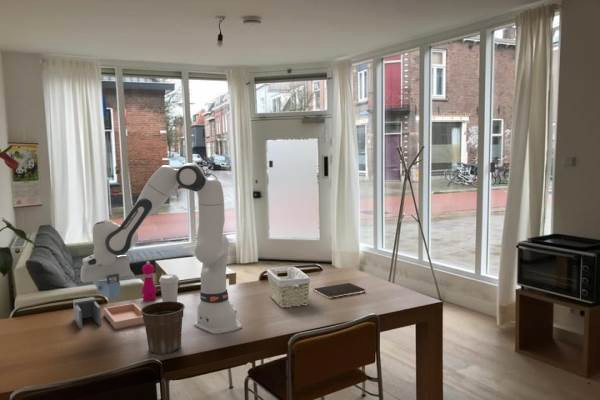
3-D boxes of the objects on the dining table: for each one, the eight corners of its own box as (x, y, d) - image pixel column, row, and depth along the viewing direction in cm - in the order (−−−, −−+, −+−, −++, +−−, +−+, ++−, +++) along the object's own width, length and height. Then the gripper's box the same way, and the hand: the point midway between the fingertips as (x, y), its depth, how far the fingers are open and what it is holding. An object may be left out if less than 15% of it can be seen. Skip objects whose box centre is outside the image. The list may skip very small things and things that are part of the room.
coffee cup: (168, 310, 231) (167, 279, 230) (155, 306, 237) (154, 276, 235) (183, 305, 239) (183, 275, 237) (171, 301, 245) (170, 272, 243)
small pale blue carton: (120, 295, 207) (119, 273, 206) (109, 298, 203) (107, 276, 202) (108, 290, 215) (106, 269, 214) (96, 293, 211) (95, 271, 210)
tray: (148, 323, 214) (147, 315, 214) (115, 329, 206) (115, 321, 206) (134, 309, 232) (134, 302, 232) (103, 315, 225) (103, 308, 224)
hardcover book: (365, 293, 258) (365, 289, 258) (329, 300, 247) (329, 295, 247) (348, 286, 272) (348, 282, 272) (313, 292, 261) (313, 288, 261)
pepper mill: (152, 301, 245) (150, 263, 243) (139, 300, 246) (137, 262, 244) (159, 297, 252) (157, 259, 250) (146, 296, 253) (145, 259, 251)
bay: (101, 324, 213) (100, 304, 212) (79, 328, 208) (78, 308, 207) (94, 315, 225) (93, 296, 224) (74, 319, 220) (73, 300, 219)
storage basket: (311, 306, 236) (311, 276, 235) (279, 310, 231) (279, 279, 229) (295, 293, 259) (295, 266, 257) (266, 296, 253) (265, 268, 252)
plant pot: (144, 360, 176) (142, 317, 175) (140, 344, 191) (138, 304, 189) (189, 352, 183) (188, 311, 181) (182, 337, 197) (180, 299, 196)
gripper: (127, 253, 217) (129, 283, 218) (78, 259, 205) (80, 291, 207) (131, 255, 212) (133, 286, 213) (81, 262, 200) (83, 295, 202)
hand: (107, 288), depth 210 cm, fingers closed on small pale blue carton, 5 cm apart
